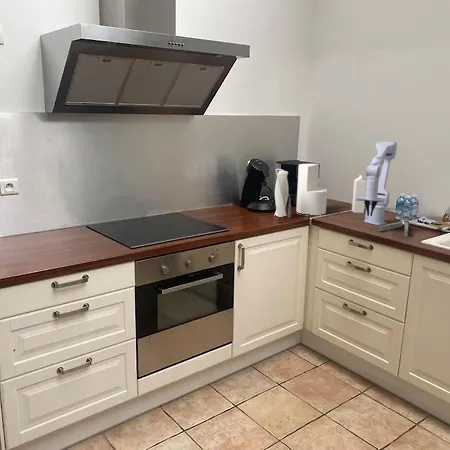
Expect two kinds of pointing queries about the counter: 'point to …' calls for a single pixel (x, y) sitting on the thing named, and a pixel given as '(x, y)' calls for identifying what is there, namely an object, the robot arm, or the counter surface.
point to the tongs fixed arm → (405, 226)
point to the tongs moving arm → (390, 226)
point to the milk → (359, 195)
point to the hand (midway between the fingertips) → (369, 215)
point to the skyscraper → (282, 194)
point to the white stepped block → (310, 191)
